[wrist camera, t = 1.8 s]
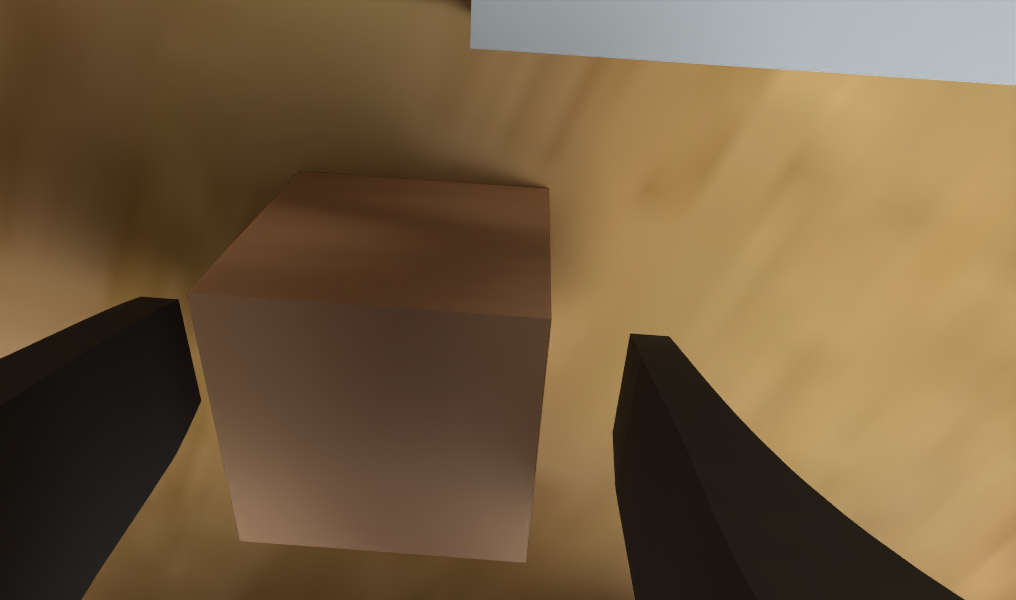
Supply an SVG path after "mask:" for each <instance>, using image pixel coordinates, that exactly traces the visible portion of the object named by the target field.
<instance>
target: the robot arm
mask: <svg viewBox="0 0 1016 600" xmlns="http://www.w3.org/2000/svg"><path fill="white" fill-rule="evenodd" d="M200 402H201V398H200V393H199V389H198V384H197V380H196V375H195V371H194V366H193V362H192V357H191V353H190V349H189V344H188V340H187V335H186V331H185V326H184V322H183V317H182V313H181V308H180V304H179V300H178V299H164V298H151V297H139V298H136V299H133V300H130V301H127V302H125V303H122V304H120V305H117V306H115V307H112V308H110V309H108V310H105V311H103V312H101V313H99V314H96V315H94V316H92V317H90V318H87V319H85V320H83V321H81V322H79V323H77V324H74V325H72V326H70V327H68V328H66V329H64V330H61V331H59V332H57V333H55V334H53V335H51V336H48V337H46V338H44V339H42V340H40V341H38V342H35V343H33V344H31V345H29V346H27V347H25V348H23V349H20V350H18V351H16V352H14V353H12V354H10V355H7V356H5V357H3V358H1V359H0V600H81V599H82V598H83V596H84V594H85V593H86V591H87V589H88V588H89V586H90V584H91V583H92V581H93V580H94V578H95V576H96V575H97V573H98V572H99V570H100V569H101V567H102V566H103V564H104V563H105V561H106V560H107V558H108V557H109V555H110V554H111V552H112V551H113V549H114V548H115V546H116V545H117V543H118V542H119V540H120V539H121V537H122V536H123V534H124V533H125V531H126V530H127V528H128V527H129V525H130V524H131V522H132V521H133V519H134V518H135V516H136V515H137V513H138V512H139V510H140V509H141V507H142V506H143V504H144V503H145V501H146V500H147V498H148V497H149V495H150V494H151V492H152V491H153V489H154V488H155V486H156V485H157V483H158V482H159V480H160V479H161V477H162V475H163V474H164V472H165V471H166V469H167V468H168V466H169V465H170V463H171V461H172V460H173V458H174V457H175V455H176V453H177V451H178V449H179V447H180V445H181V443H182V441H183V439H184V437H185V435H186V433H187V431H188V429H189V427H190V425H191V422H192V420H193V418H194V416H195V413H196V411H197V409H198V407H199V405H200ZM613 450H614V470H615V487H616V494H617V500H618V506H619V512H620V517H621V523H622V529H623V534H624V540H625V545H626V551H627V556H628V562H629V567H630V573H631V578H632V584H633V590H634V595H635V600H964V599H963V598H961V597H959V596H958V595H956V594H955V593H953V592H952V591H950V590H949V589H947V588H946V587H944V586H943V585H941V584H940V583H938V582H937V581H935V580H934V579H932V578H931V577H929V576H928V575H926V574H925V573H923V572H922V571H920V570H919V569H917V568H916V567H915V566H913V565H912V564H910V563H909V562H908V561H906V560H905V559H903V558H902V557H901V556H899V555H898V554H896V553H895V552H894V551H892V550H891V549H890V548H888V547H887V546H885V545H884V544H883V543H881V542H880V541H878V540H877V539H876V538H874V537H873V536H871V535H870V534H869V533H867V532H866V531H865V530H864V529H862V528H861V527H860V526H858V525H857V524H856V523H854V522H853V521H852V520H851V519H849V518H848V517H847V516H845V515H844V514H843V513H842V512H841V511H839V510H838V509H837V508H836V507H835V506H833V505H832V504H831V503H830V502H829V501H827V500H826V499H825V498H824V497H823V496H821V495H820V494H819V493H818V492H817V491H815V490H814V489H813V488H812V487H811V486H809V485H808V484H807V483H806V482H805V481H804V480H803V479H801V478H800V477H799V476H798V475H797V474H796V473H795V472H794V471H793V470H791V469H790V468H789V467H788V466H787V465H786V464H785V463H784V462H783V461H782V460H781V459H780V458H779V457H778V456H777V455H776V454H775V453H774V452H773V451H772V450H771V449H770V448H768V447H767V446H766V445H765V444H764V443H763V442H762V441H761V440H760V439H759V438H758V437H757V436H756V435H755V434H754V433H753V432H752V431H751V430H750V429H749V427H748V426H747V425H746V424H745V423H744V422H743V421H742V420H741V419H740V418H739V417H738V416H737V415H736V414H735V413H734V412H733V410H732V409H731V408H730V407H729V406H728V405H727V404H726V403H725V402H724V401H723V399H722V398H721V397H720V396H719V395H718V394H717V393H716V391H715V390H714V389H713V388H712V387H711V386H710V385H709V383H708V382H707V381H706V380H705V379H704V377H703V376H702V375H701V374H700V373H699V372H698V370H697V369H696V368H695V367H694V366H693V364H692V363H691V362H690V361H689V360H688V358H687V357H686V356H685V355H684V353H683V352H682V351H681V350H680V349H679V347H678V346H677V345H676V344H675V343H674V342H673V340H672V339H671V338H670V337H669V336H656V335H643V334H630V338H629V344H628V349H627V355H626V361H625V366H624V372H623V378H622V383H621V389H620V394H619V400H618V406H617V411H616V417H615V423H614V428H613Z"/></svg>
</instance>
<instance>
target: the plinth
mask: <svg viewBox="0 0 1016 600" xmlns="http://www.w3.org/2000/svg"><path fill="white" fill-rule="evenodd" d="M470 48H472V49H487V50H502V51H517V52H532V53H546V54H561V55H576V56H591V57H606V58H620V59H635V60H650V61H665V62H680V63H694V64H709V65H724V66H739V67H754V68H768V69H783V70H798V71H813V72H828V73H842V74H857V75H872V76H887V77H902V78H916V79H931V80H946V81H961V82H976V83H991V84H1005V85H1016V0H471V37H470Z"/></svg>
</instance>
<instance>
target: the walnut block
mask: <svg viewBox="0 0 1016 600" xmlns="http://www.w3.org/2000/svg"><path fill="white" fill-rule="evenodd" d="M187 297H188V302H189V306H190V311H191V316H192V320H193V325H194V330H195V334H196V339H197V344H198V348H199V353H200V358H201V362H202V367H203V372H204V376H205V381H206V386H207V390H208V395H209V400H210V404H211V409H212V413H213V418H214V423H215V427H216V432H217V437H218V441H219V446H220V451H221V455H222V460H223V465H224V469H225V474H226V479H227V483H228V488H229V493H230V497H231V502H232V507H233V511H234V516H235V521H236V525H237V530H238V535H239V539H240V541H247V542H260V543H273V544H286V545H299V546H313V547H326V548H339V549H352V550H365V551H378V552H391V553H404V554H417V555H431V556H444V557H457V558H470V559H483V560H496V561H509V562H522V563H526V557H527V547H528V538H529V528H530V519H531V509H532V500H533V490H534V480H535V471H536V461H537V452H538V442H539V433H540V423H541V414H542V404H543V395H544V385H545V376H546V366H547V357H548V347H549V337H550V328H551V267H550V213H549V189H548V188H534V187H520V186H505V185H491V184H477V183H462V182H448V181H434V180H420V179H405V178H391V177H377V176H362V175H348V174H334V173H319V172H305V171H299V172H298V173H297V174H296V175H295V176H294V177H293V178H292V179H291V180H290V182H289V183H288V184H287V185H286V186H285V187H284V188H283V189H282V190H281V191H280V192H279V193H278V194H277V196H276V197H275V198H274V199H273V200H272V201H271V202H270V203H269V204H268V205H267V206H266V207H265V209H264V210H263V211H262V212H261V213H260V214H259V215H258V216H257V217H256V218H255V219H254V220H253V221H252V223H251V224H250V225H249V226H248V227H247V228H246V229H245V230H244V231H243V232H242V233H241V234H240V236H239V237H238V238H237V239H236V240H235V241H234V242H233V243H232V244H231V245H230V246H229V247H228V248H227V250H226V251H225V252H224V253H223V254H222V255H221V256H220V257H219V258H218V259H217V260H216V261H215V262H214V264H213V265H212V266H211V267H210V268H209V269H208V270H207V271H206V272H205V273H204V274H203V275H202V277H201V278H200V279H199V280H198V281H197V282H196V283H195V284H194V285H193V286H192V287H191V288H190V289H189V291H188V292H187Z"/></svg>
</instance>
